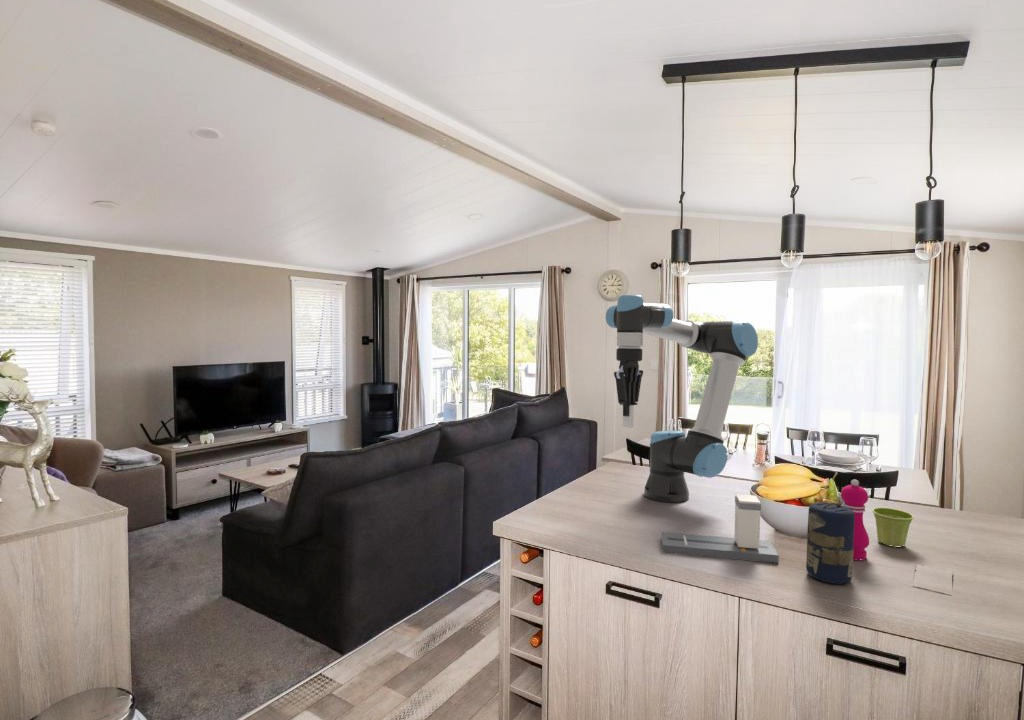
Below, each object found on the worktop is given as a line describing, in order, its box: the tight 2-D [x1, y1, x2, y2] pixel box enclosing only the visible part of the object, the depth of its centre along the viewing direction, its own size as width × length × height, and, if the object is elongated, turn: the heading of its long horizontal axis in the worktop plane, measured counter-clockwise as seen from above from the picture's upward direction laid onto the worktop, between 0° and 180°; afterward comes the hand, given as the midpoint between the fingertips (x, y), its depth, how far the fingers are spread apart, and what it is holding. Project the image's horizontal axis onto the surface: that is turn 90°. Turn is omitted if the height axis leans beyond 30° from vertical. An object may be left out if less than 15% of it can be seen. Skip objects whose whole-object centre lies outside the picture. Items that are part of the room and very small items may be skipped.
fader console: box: [660, 531, 780, 564], centre depth 147 cm, size 28×10×2 cm, turn 77°
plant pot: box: [871, 507, 915, 546], centre depth 153 cm, size 9×9×9 cm
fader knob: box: [733, 494, 762, 549], centre depth 145 cm, size 5×6×12 cm
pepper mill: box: [840, 479, 870, 561], centre depth 144 cm, size 7×7×20 cm
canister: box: [805, 501, 855, 585], centre depth 131 cm, size 10×10×18 cm
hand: (627, 426), depth 166 cm, fingers closed
